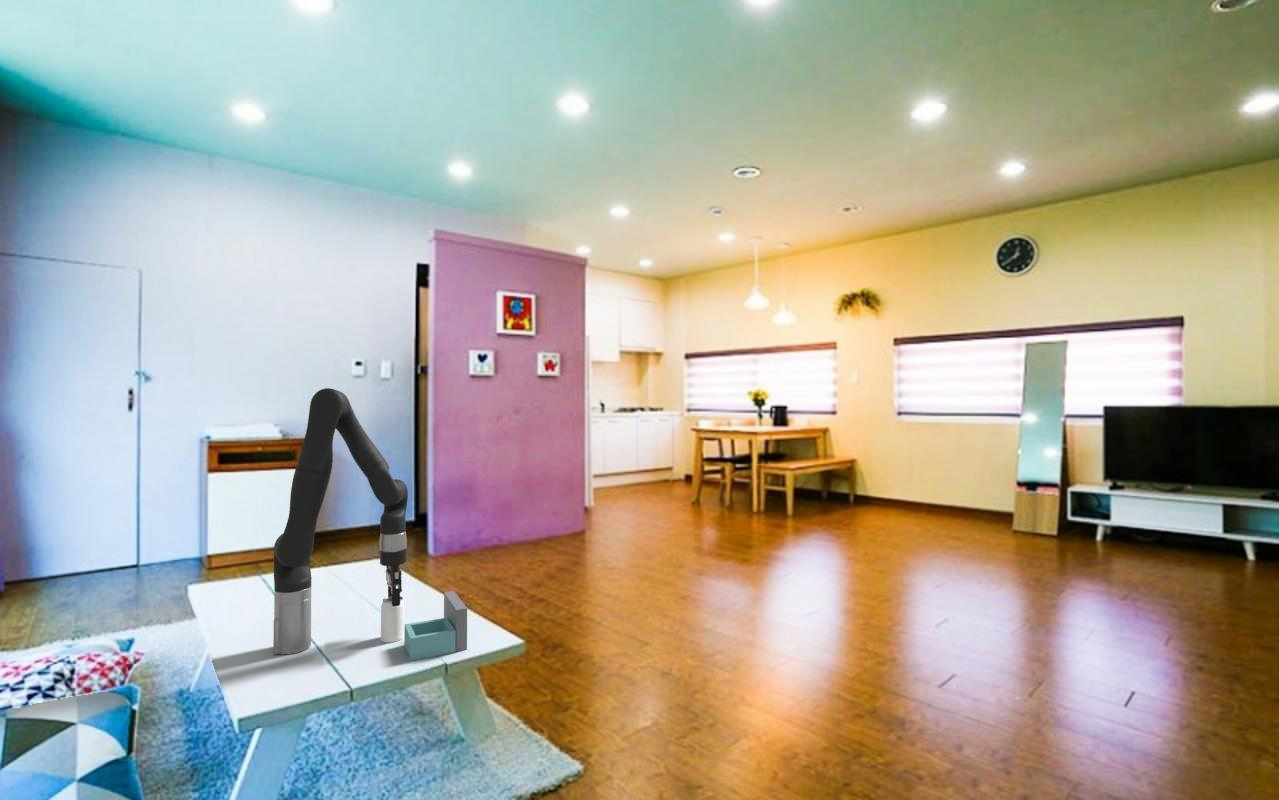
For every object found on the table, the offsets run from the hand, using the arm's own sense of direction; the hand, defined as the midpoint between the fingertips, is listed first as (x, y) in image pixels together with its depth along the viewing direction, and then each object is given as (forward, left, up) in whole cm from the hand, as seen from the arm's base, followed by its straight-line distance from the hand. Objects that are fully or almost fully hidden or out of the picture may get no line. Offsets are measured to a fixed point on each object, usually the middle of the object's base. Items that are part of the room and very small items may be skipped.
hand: (394, 601), depth 182 cm
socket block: (+8, -13, -11) cm, 19 cm away
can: (0, 0, -11) cm, 11 cm away
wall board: (+16, -10, -11) cm, 22 cm away
